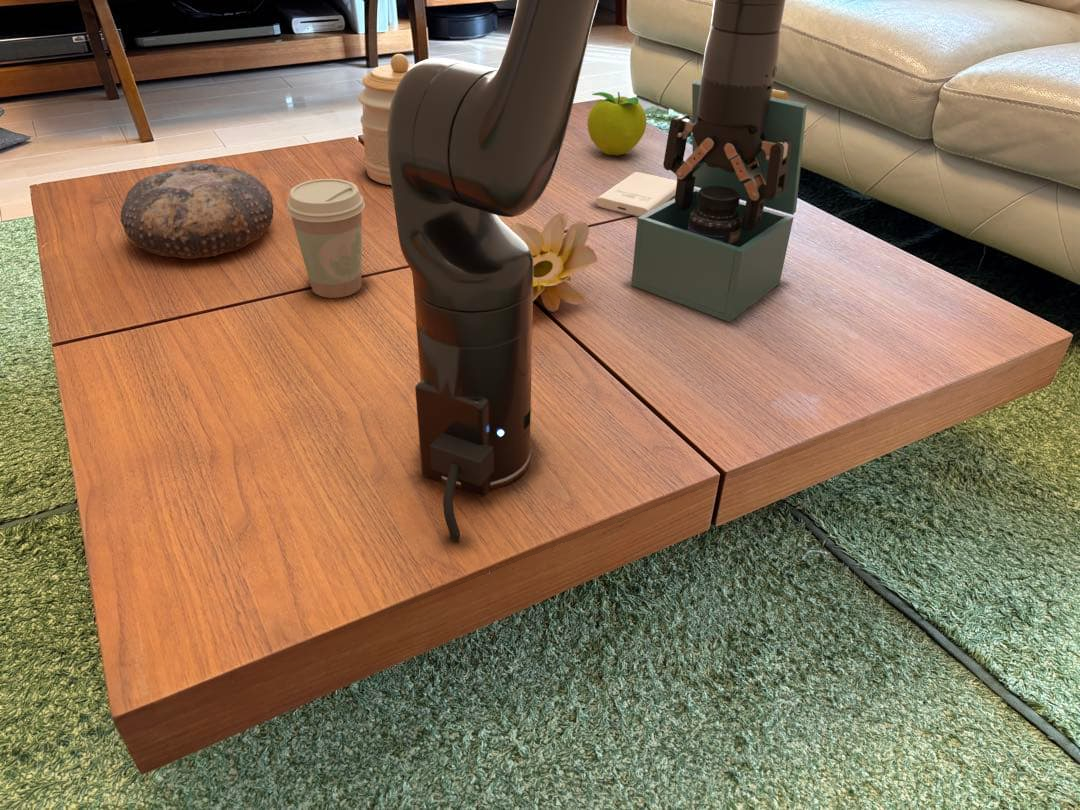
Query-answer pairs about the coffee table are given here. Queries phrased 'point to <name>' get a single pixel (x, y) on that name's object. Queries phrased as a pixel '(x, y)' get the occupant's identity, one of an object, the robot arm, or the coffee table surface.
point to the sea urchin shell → (196, 211)
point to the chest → (708, 260)
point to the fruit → (616, 123)
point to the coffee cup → (329, 234)
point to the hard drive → (638, 194)
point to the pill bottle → (717, 214)
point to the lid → (780, 125)
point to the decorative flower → (557, 258)
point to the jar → (379, 114)
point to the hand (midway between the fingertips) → (715, 218)
